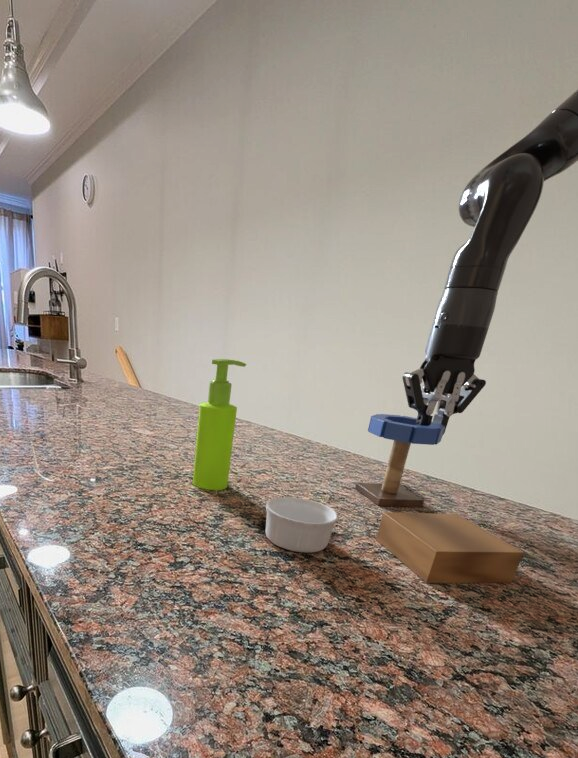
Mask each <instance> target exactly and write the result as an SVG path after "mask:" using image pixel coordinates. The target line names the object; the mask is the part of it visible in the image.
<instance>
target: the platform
mask: <svg viewBox="0 0 578 758" xmlns="http://www.w3.org/2000/svg"><path fill="white" fill-rule="evenodd" d="M375 540H376V541H377V542H378V543H379V544H381V545H382V546H383V547H384V548H385V549H386V550H387V551H389V552H390V553H391V554H392V555H393V556H394V557H396V558H397V560H399V561H400V562H401V563H402V564H404V566H406V567H407V568H408V569H409V570H411V571H412V572H413V573H415V575H417V576H418V578H420V579H421V580H422V581H424V582H425V584H511V583H512V582H513V580H514V578H515V576H516V573H517V571H518V568H519V565H520V564H521V561H522V558H523V556H524V554H525V552H524V551H523V550H521V549H519V548H518V547H516V546H514V545H512V544H510V543H509V542H507V541H505V540H503V539H501V538H499V537H498V536H496V535H495V534H493V533H491V532H489V531H488V530H486V529H485V528H482V527H480V526H479V525H477V524H476V523H474V522H472V521H471V520H469V519H466V518H465V517H463V516H462V515H460V514H457V513H430V512H429V513H426V512H425V513H423V512H392V511H389V512H387V511H383V512H382V516H381V519H380V522H379V526H378V530H377V534H376V537H375Z"/></svg>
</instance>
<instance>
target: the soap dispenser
mask: <svg viewBox="0 0 578 758" xmlns="http://www.w3.org/2000/svg"><path fill="white" fill-rule="evenodd" d="M211 364H212V365H215V366H216V372H215V379H213V380H210V381H209V386H208V398H207V401H205V402H200V403H199V407H198V418H197V431H196V442H195V452H194V453H195V454H194V464H193V475H192V485H194V486H195V487H196V488H199V489H203V490H207V491H208V490H209V491H221V490H225V489H227V488H228V484H229V478H230V477H229V476H230V469H231V461H232V452H233V445H234V444H233V443H234V436H235V428H236V420H237V419H236V418H237V411H238V407H237V406H235V405H234V404H231V403H230V402H231V393H232V386H233V385H232V383H231V382H230V380H228V370H229V366H233V365H234V366H238V367H243V368H245V367H246V366H247V364H246V363H245V362H242V361H239V360H235V359H229V358H218V359H217V358H216V359H212V360H211Z"/></svg>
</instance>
